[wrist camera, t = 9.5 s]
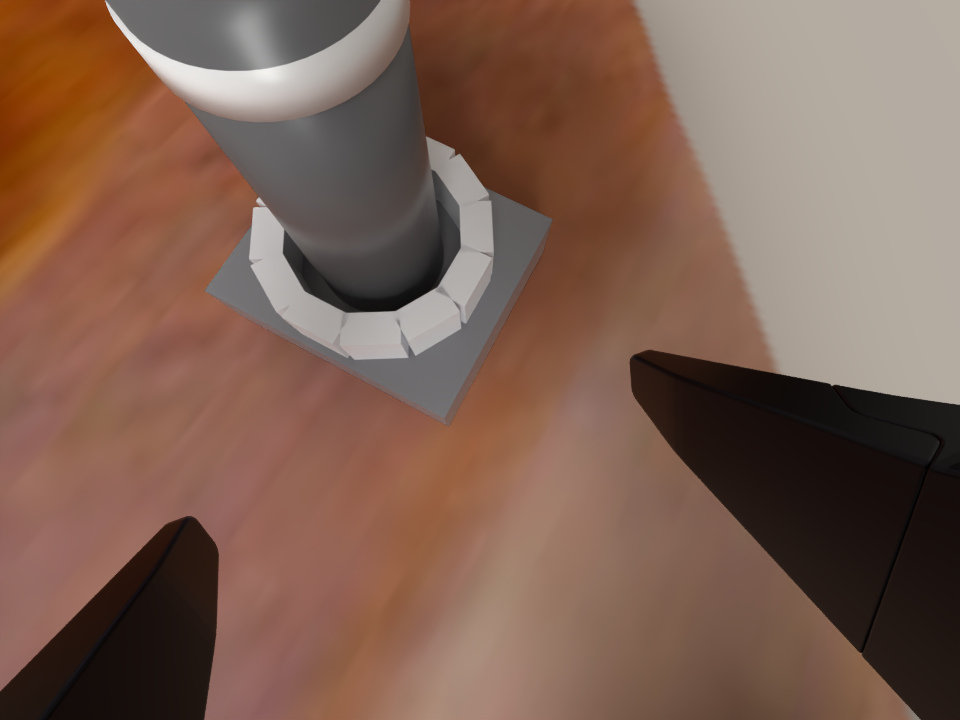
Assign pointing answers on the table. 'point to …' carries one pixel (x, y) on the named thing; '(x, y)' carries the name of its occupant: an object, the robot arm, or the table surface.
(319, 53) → the grey domed cylinder
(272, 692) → the table surface
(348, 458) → the table surface
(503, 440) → the table surface
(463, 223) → the ringed square flange
